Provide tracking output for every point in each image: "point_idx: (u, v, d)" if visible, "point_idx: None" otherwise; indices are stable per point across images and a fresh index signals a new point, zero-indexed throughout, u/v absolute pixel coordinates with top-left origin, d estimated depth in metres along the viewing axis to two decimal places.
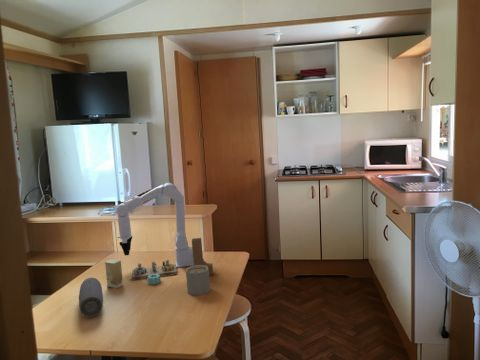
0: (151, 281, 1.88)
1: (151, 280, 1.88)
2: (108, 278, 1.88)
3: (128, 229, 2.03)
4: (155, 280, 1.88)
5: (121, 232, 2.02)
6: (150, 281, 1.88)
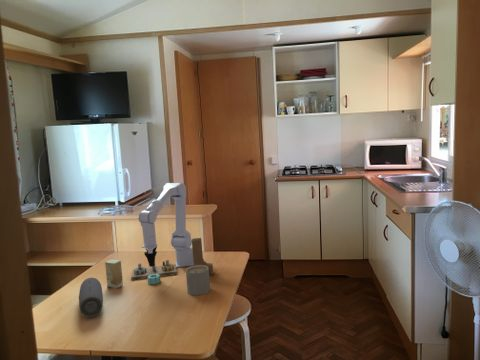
0: (151, 281, 1.88)
1: (151, 280, 1.88)
2: (108, 278, 1.88)
3: (153, 238, 1.86)
4: (155, 280, 1.88)
5: (146, 241, 1.85)
6: (150, 281, 1.88)
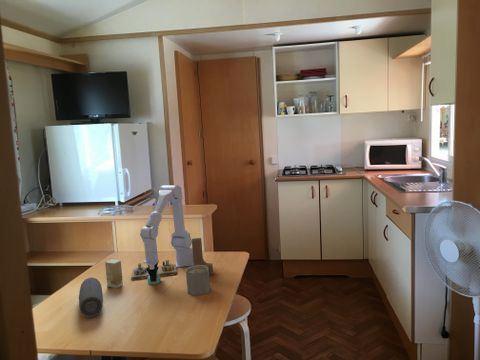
0: None
1: None
2: (108, 278, 1.88)
3: (155, 254, 1.87)
4: None
5: (147, 257, 1.87)
6: (150, 281, 1.88)
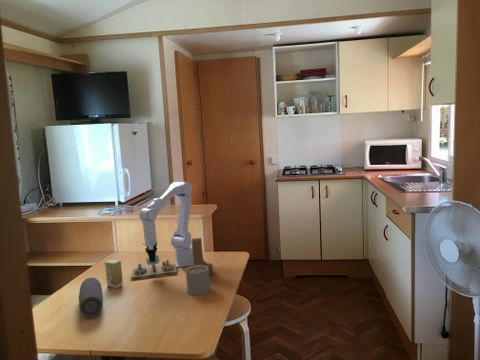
0: (150, 262, 1.94)
1: None
2: (108, 278, 1.88)
3: (154, 235, 1.93)
4: None
5: (146, 238, 1.92)
6: (149, 262, 1.94)
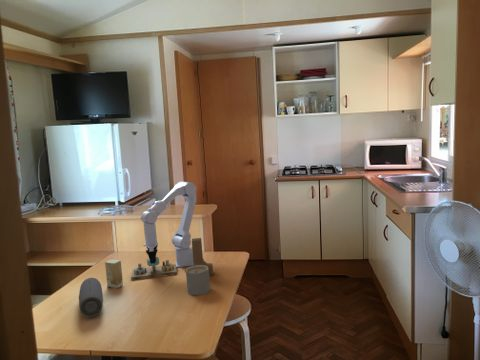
0: (150, 263, 1.99)
1: (150, 262, 1.99)
2: (108, 278, 1.88)
3: (154, 237, 1.98)
4: None
5: (147, 240, 1.98)
6: (149, 263, 1.99)
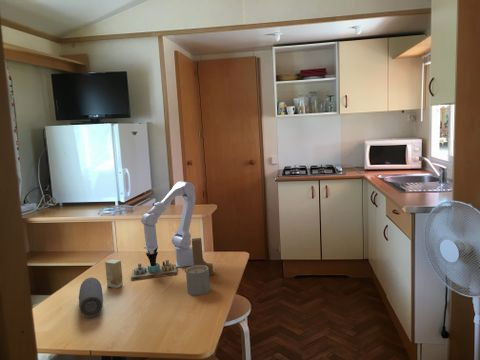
0: (151, 269, 2.00)
1: (151, 268, 2.00)
2: (108, 278, 1.88)
3: (154, 239, 1.99)
4: (155, 268, 2.00)
5: (147, 242, 1.98)
6: (150, 269, 2.00)
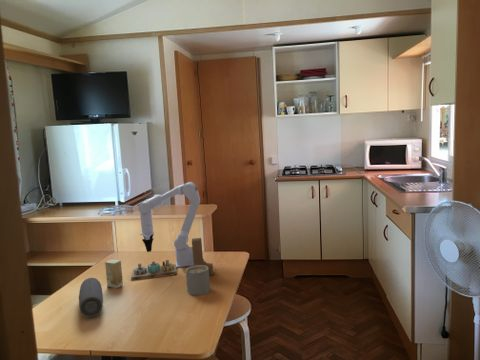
0: (151, 269, 2.00)
1: (151, 268, 2.00)
2: (108, 278, 1.88)
3: (150, 226, 2.09)
4: (155, 268, 2.00)
5: (144, 229, 2.08)
6: (150, 269, 2.00)
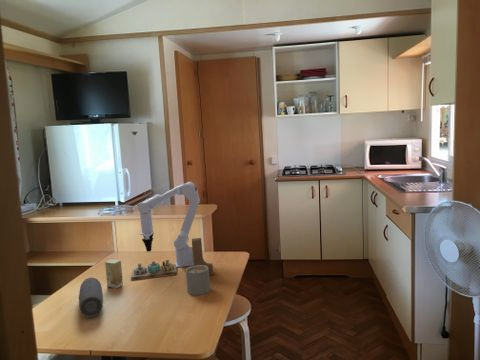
0: (151, 269, 2.00)
1: (151, 268, 2.00)
2: (108, 278, 1.88)
3: (150, 226, 2.09)
4: (155, 268, 2.00)
5: (143, 229, 2.08)
6: (150, 269, 2.00)
